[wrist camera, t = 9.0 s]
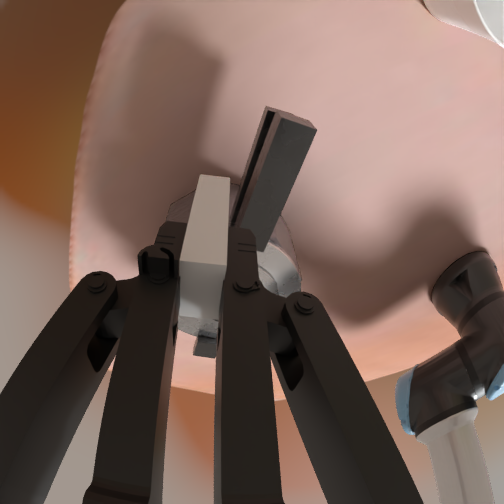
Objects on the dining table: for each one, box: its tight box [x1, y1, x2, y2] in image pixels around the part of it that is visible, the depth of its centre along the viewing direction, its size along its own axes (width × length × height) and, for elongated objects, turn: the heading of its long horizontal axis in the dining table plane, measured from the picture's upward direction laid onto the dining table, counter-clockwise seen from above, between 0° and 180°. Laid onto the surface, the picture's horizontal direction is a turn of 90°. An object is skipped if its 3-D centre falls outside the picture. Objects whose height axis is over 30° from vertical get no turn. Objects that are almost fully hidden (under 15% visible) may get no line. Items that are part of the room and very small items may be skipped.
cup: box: [423, 0, 504, 48], centre depth 15 cm, size 10×10×11 cm
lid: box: [178, 110, 317, 358], centre depth 28 cm, size 29×16×3 cm, turn 162°
